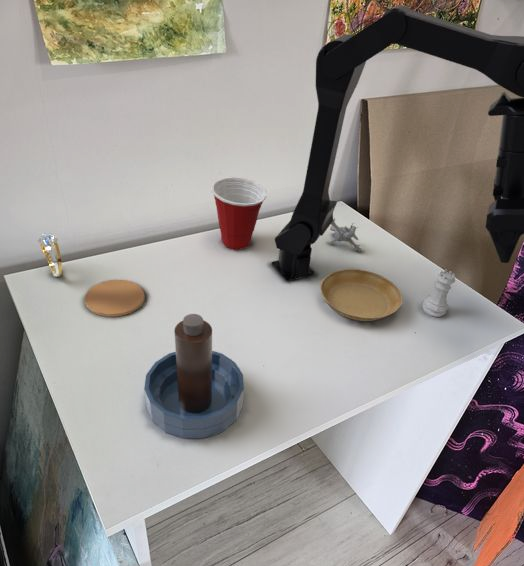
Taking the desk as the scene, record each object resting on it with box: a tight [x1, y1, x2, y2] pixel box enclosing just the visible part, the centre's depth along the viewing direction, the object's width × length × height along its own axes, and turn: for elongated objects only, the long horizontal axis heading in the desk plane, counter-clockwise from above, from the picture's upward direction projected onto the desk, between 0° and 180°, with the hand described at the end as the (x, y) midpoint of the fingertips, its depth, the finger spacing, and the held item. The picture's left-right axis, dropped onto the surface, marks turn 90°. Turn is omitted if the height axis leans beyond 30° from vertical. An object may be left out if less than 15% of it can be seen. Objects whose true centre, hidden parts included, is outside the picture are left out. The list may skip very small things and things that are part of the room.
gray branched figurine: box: [329, 217, 362, 253], centre depth 104 cm, size 10×6×9 cm
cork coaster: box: [84, 279, 146, 318], centre depth 85 cm, size 10×10×1 cm
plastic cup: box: [211, 176, 268, 251], centre depth 99 cm, size 11×11×12 cm
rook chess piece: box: [421, 269, 456, 318], centre depth 87 cm, size 4×4×8 cm
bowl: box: [143, 350, 245, 439], centre depth 68 cm, size 13×13×4 cm
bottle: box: [173, 313, 213, 413], centre depth 64 cm, size 5×5×15 cm
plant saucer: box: [319, 268, 403, 322], centre depth 89 cm, size 15×15×3 cm
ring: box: [36, 232, 63, 278], centre depth 87 cm, size 7×3×8 cm, turn 32°
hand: (506, 248), depth 78 cm, fingers open, 9 cm apart
